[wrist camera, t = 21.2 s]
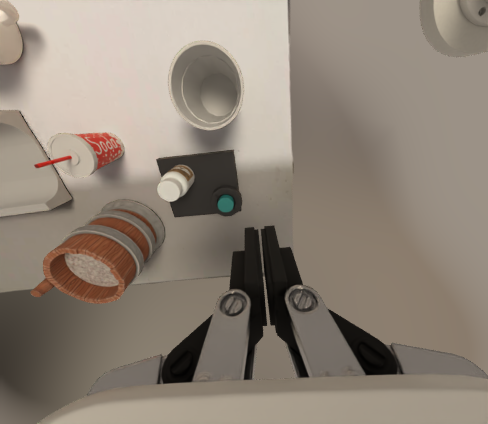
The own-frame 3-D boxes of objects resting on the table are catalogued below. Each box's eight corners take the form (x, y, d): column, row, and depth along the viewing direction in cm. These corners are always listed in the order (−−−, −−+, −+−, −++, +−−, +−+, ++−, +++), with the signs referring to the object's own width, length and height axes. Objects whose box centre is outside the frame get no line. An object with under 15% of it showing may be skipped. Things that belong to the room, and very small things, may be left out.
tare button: (232, 193, 36) (232, 197, 35) (235, 208, 37) (234, 211, 36) (217, 195, 36) (216, 198, 35) (219, 209, 38) (218, 213, 36)
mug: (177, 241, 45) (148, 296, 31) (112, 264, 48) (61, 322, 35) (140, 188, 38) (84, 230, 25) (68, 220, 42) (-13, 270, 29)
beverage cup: (133, 161, 36) (75, 188, 24) (103, 164, 36) (29, 193, 24) (120, 125, 33) (44, 135, 21) (86, 129, 33) (-7, 142, 21)
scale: (236, 149, 35) (235, 152, 32) (243, 208, 40) (243, 214, 38) (159, 158, 36) (152, 161, 33) (176, 214, 41) (172, 221, 39)
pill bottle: (196, 167, 35) (184, 181, 28) (193, 189, 37) (181, 207, 30) (171, 161, 34) (153, 174, 28) (170, 184, 36) (153, 201, 30)
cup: (188, 72, 29) (155, 51, 19) (239, 59, 29) (235, 30, 18) (203, 127, 33) (183, 136, 22) (248, 118, 32) (249, 122, 22)
